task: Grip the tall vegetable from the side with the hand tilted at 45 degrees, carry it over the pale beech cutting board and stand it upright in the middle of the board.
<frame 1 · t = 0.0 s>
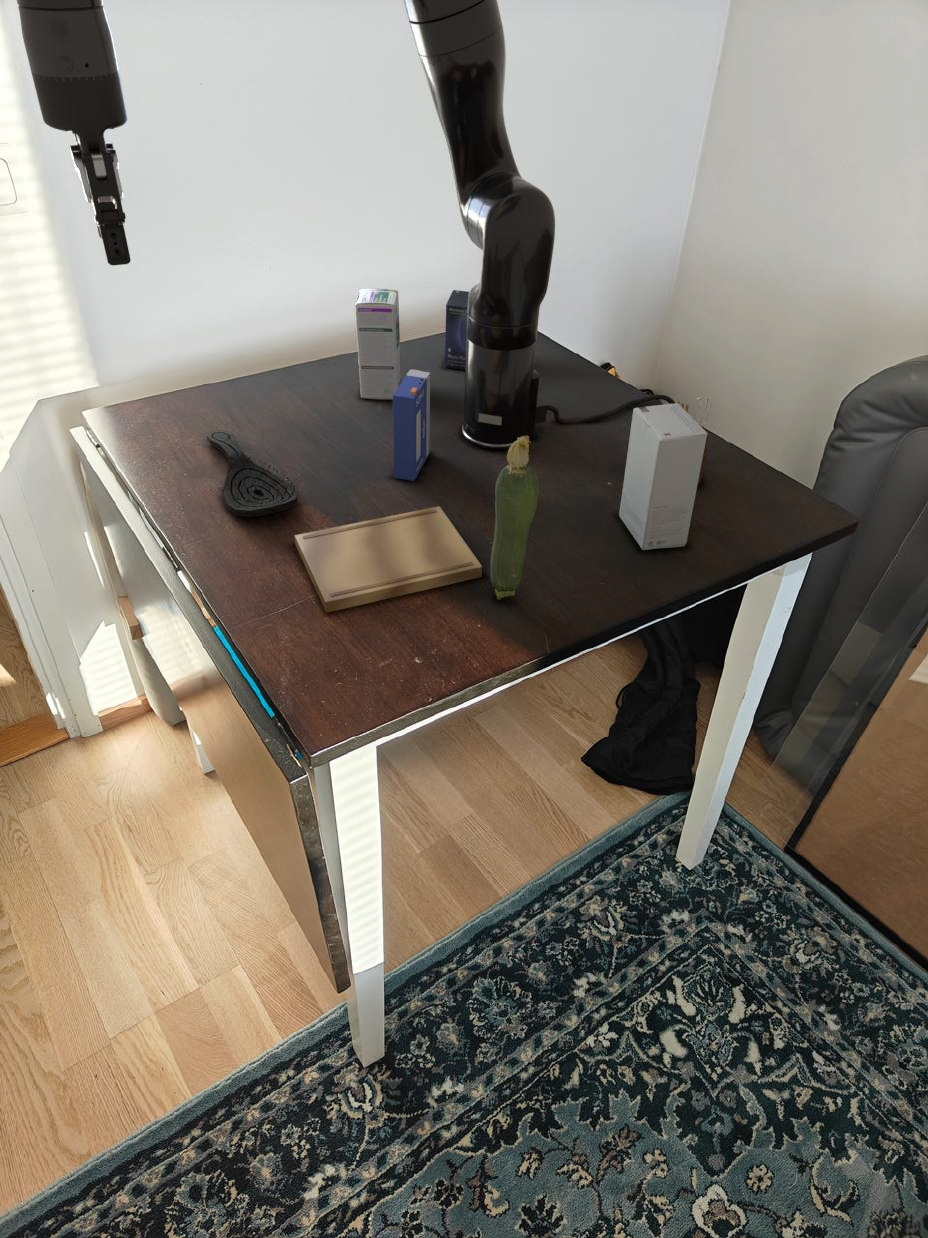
hand: (114, 250, 90), 29 cm above the table, tool pointing down, fingers open, 8 cm apart
cutting board: (387, 561, 99), on the table
vegetable: (507, 595, 96), on the table
syrup box: (380, 392, 132), on the table
hairbrush: (245, 480, 112), on the table
small box: (478, 365, 140), on the table
cosmetic box: (649, 531, 106), on the table
walkman: (411, 466, 116), on the table
utensil holder: (677, 479, 116), on the table
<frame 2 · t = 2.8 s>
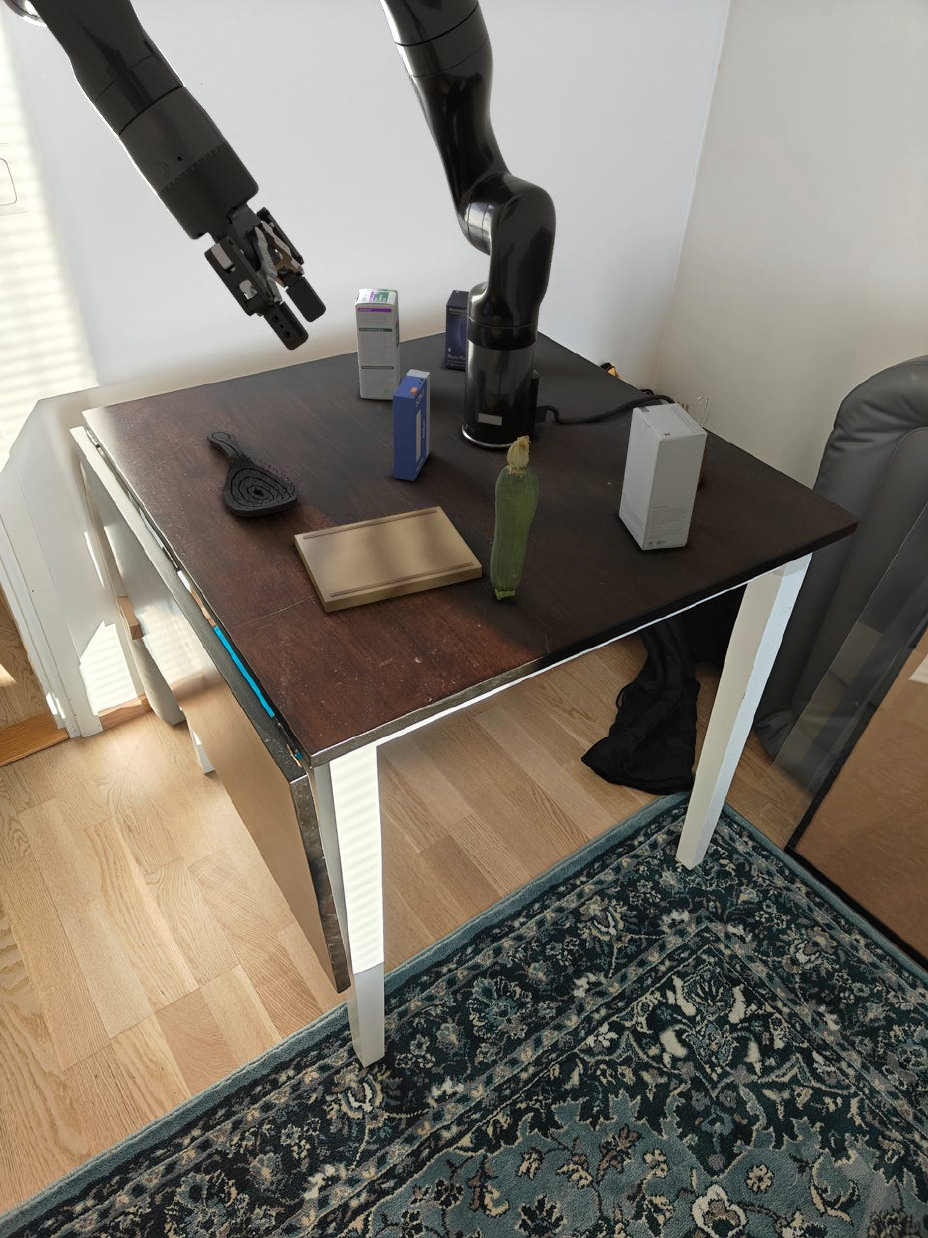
hand: (310, 330, 80), 27 cm above the table, tool tilted 35°, fingers open, 8 cm apart
nothing on the table moved.
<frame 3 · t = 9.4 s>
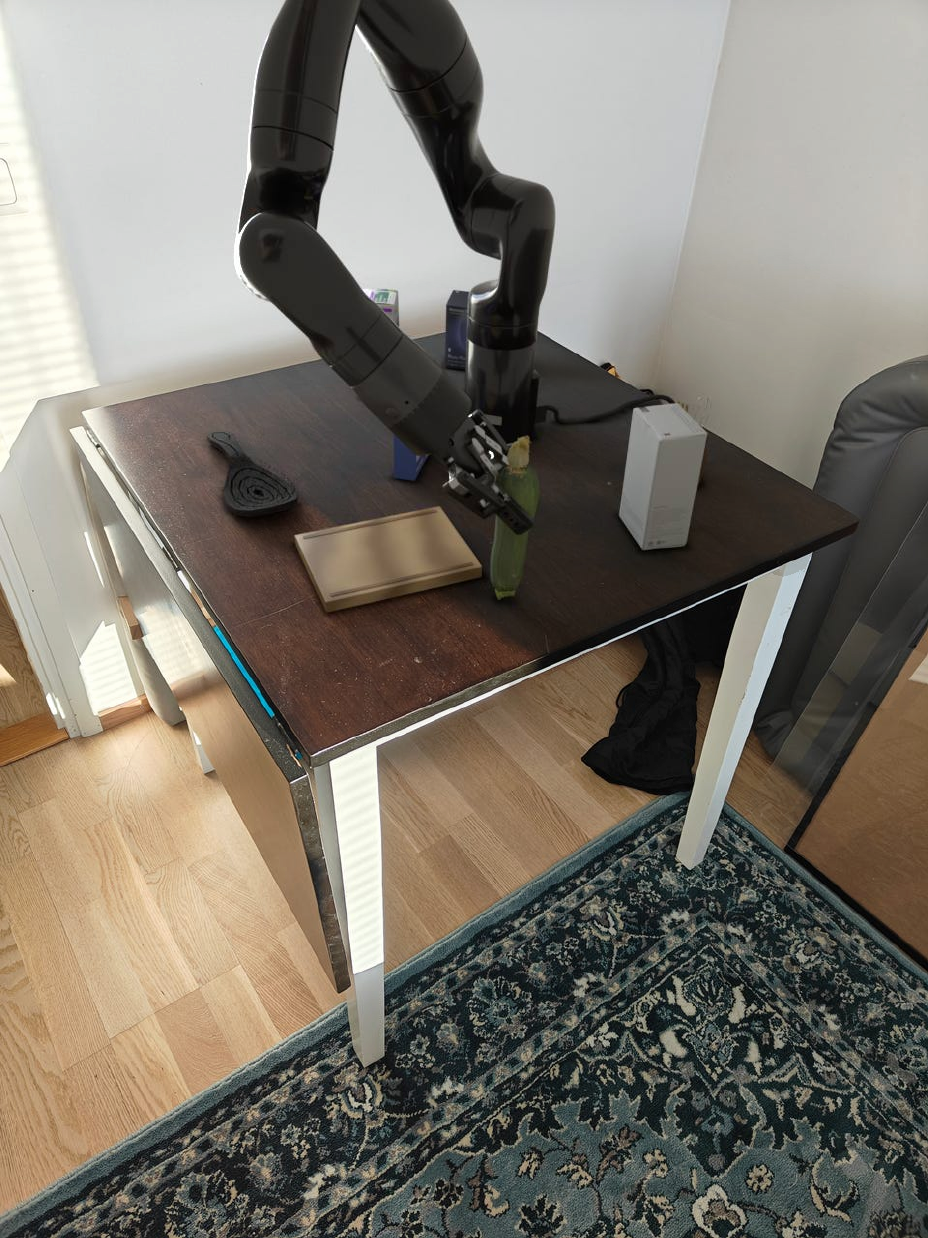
hand: (528, 514, 89), 11 cm above the table, tool tilted 45°, fingers closed on vegetable, 4 cm apart
vegetable: (507, 595, 96), on the table, touching gripper
everything else where it was.
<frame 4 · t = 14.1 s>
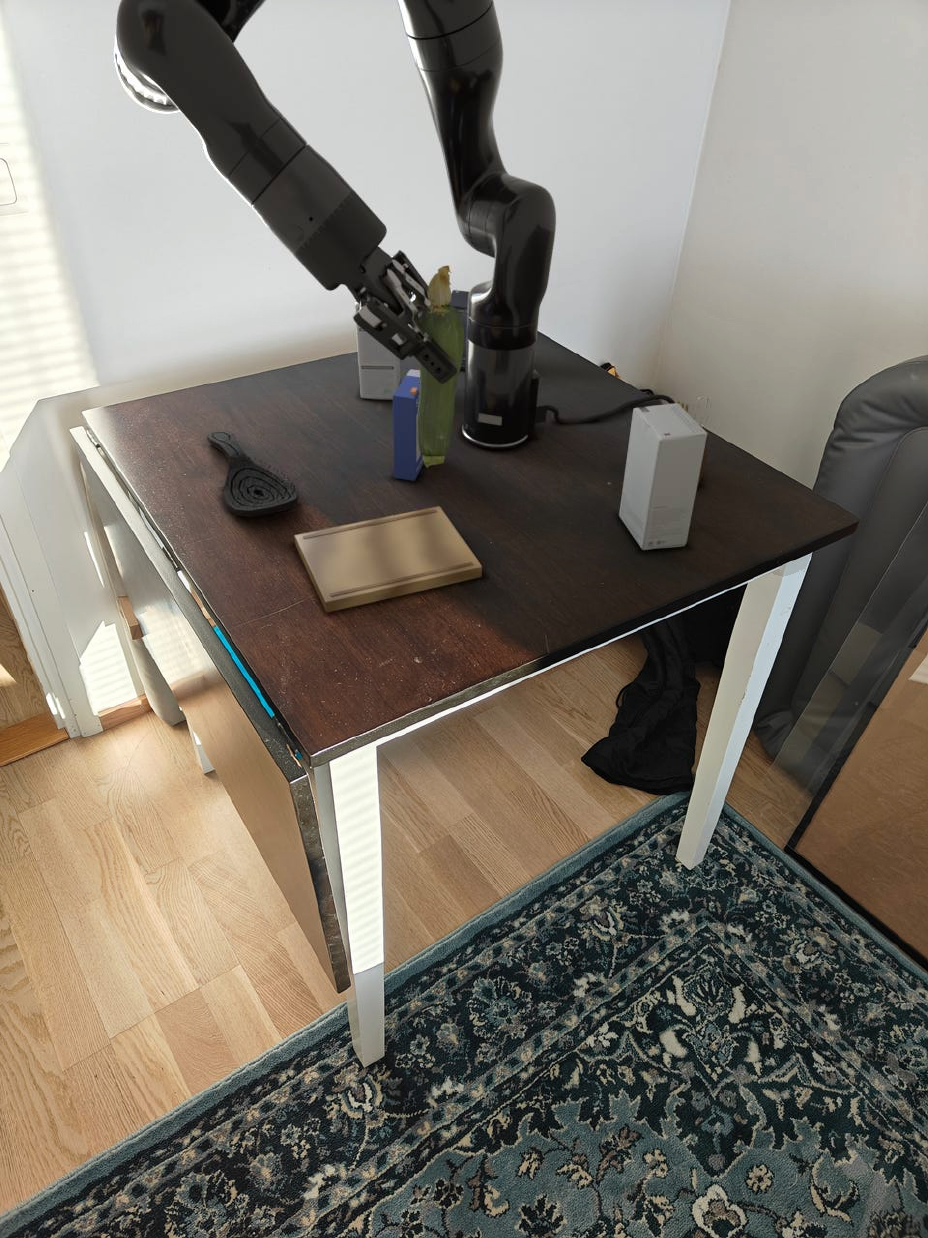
hand: (454, 364, 82), 25 cm above the table, tool tilted 45°, fingers closed on vegetable, 4 cm apart
vegetable: (437, 464, 89), point 14 cm above the table, touching gripper
everything else where it was.
when the fingers open (12 cm above the table, at t = 18.7 s): vegetable stays where it is, resting on cutting board.
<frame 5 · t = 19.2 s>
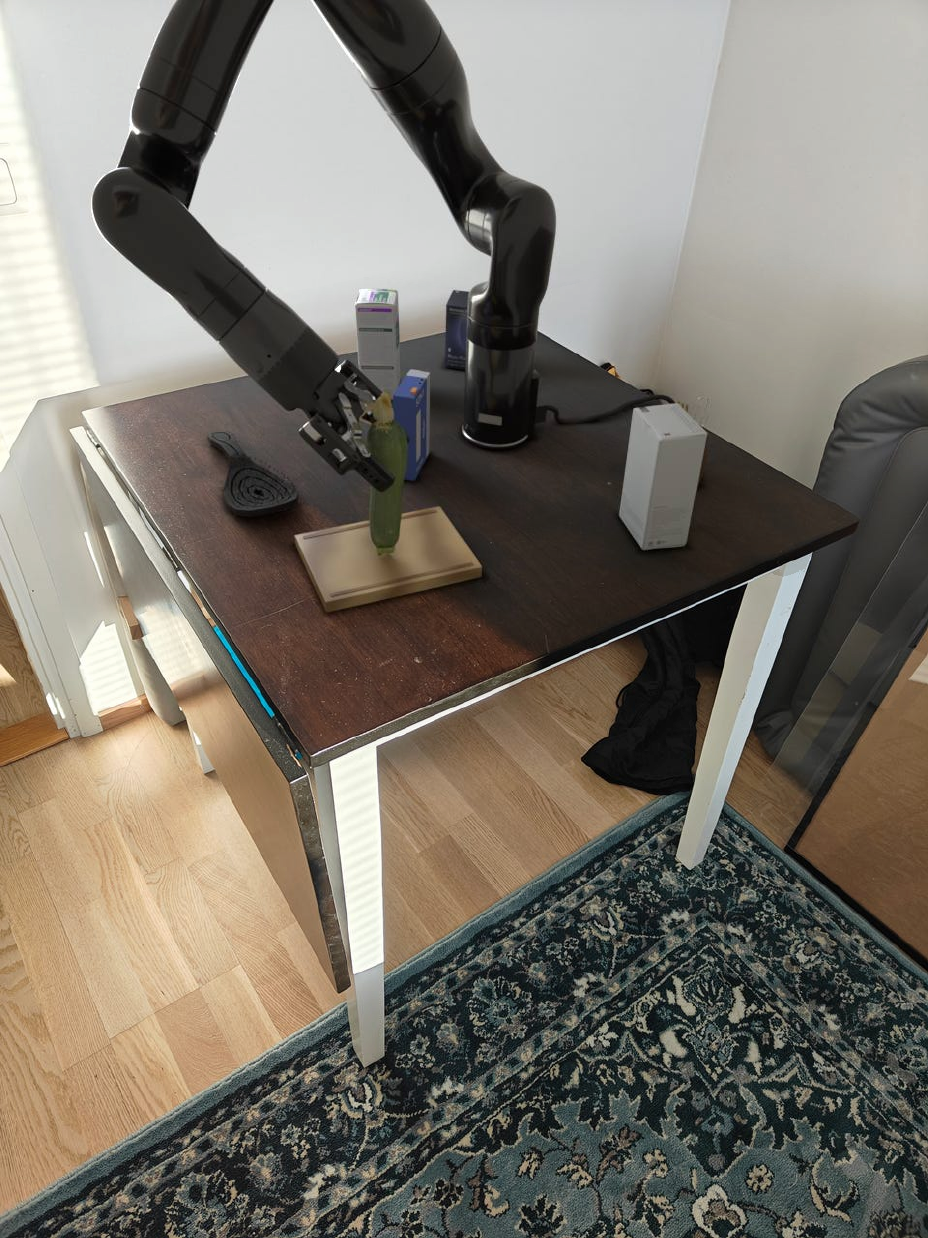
hand: (397, 464, 91), 13 cm above the table, tool tilted 45°, fingers open, 8 cm apart
vegetable: (389, 552, 98), point 1 cm above the table, touching cutting board
everything else where it was.
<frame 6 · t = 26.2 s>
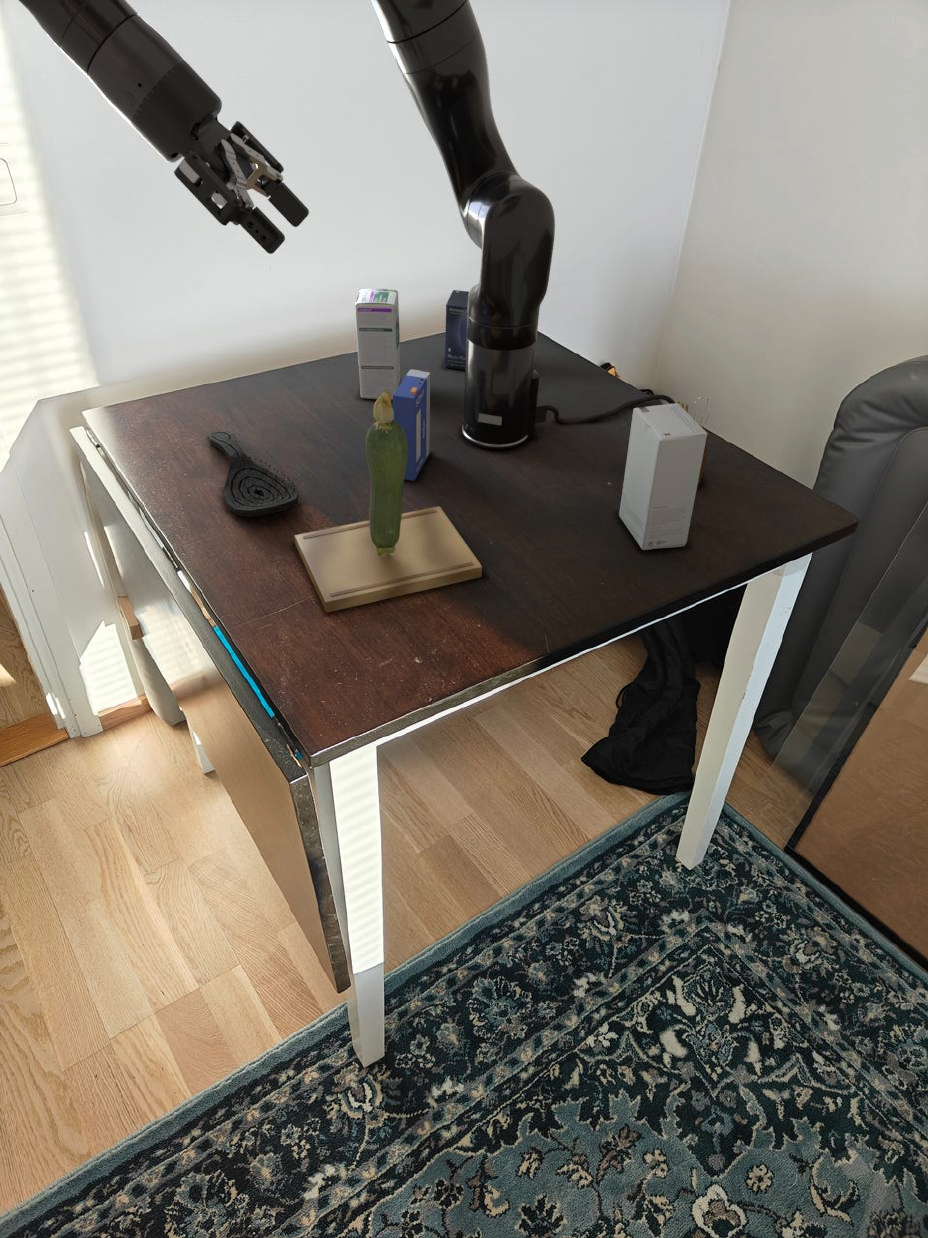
hand: (291, 233, 85), 33 cm above the table, tool tilted 45°, fingers open, 8 cm apart
nothing on the table moved.
at the end: vegetable inside the target area on the cutting board (0.3 cm from its centre), point 1.3 cm above the cutting board's base; vegetable tilted 0°; the gripper is holding nothing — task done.
